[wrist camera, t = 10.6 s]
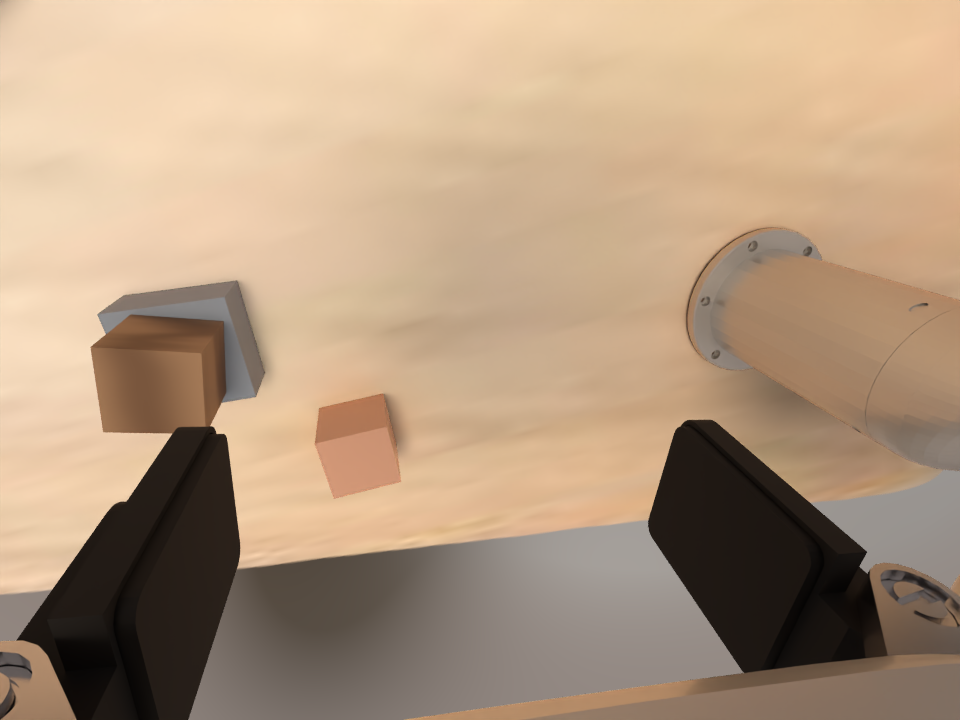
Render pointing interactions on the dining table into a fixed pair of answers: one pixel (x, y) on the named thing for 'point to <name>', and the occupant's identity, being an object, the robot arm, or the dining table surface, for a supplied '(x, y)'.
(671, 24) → the dining table surface
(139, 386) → the walnut cube
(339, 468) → the terracotta cube
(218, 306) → the blue-grey square box
